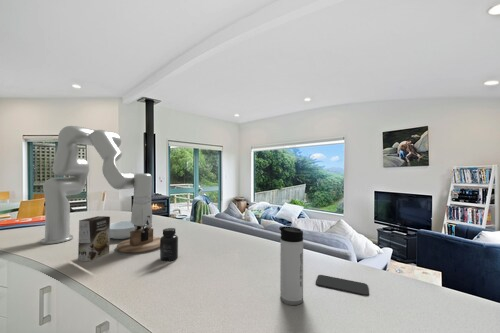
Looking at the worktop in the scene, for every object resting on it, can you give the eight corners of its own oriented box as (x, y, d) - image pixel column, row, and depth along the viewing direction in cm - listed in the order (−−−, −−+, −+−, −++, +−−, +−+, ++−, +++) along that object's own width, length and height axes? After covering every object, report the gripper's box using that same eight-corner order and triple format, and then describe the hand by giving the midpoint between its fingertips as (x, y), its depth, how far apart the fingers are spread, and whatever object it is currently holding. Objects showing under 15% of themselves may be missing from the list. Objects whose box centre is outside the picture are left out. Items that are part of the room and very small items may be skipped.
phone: (369, 295, 65) (314, 283, 71) (369, 298, 65) (314, 286, 71) (367, 283, 72) (318, 274, 78) (367, 286, 72) (318, 276, 78)
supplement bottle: (181, 257, 93) (181, 228, 93) (169, 264, 87) (169, 232, 87) (168, 255, 96) (169, 226, 96) (156, 260, 90) (156, 230, 90)
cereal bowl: (97, 240, 115) (97, 226, 115) (125, 232, 131) (126, 219, 131) (121, 244, 109) (121, 229, 109) (148, 235, 124) (148, 222, 124)
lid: (107, 246, 102) (108, 231, 103) (148, 236, 119) (149, 222, 119) (132, 256, 91) (132, 239, 91) (173, 243, 108) (173, 228, 108)
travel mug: (277, 293, 66) (277, 224, 67) (299, 292, 67) (299, 224, 67) (281, 306, 60) (282, 230, 60) (306, 305, 61) (306, 229, 61)
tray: (105, 249, 102) (105, 248, 102) (150, 237, 120) (150, 236, 120) (131, 260, 90) (131, 258, 90) (177, 245, 108) (177, 244, 108)
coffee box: (91, 263, 87) (91, 220, 88) (77, 261, 89) (78, 220, 89) (110, 254, 96) (110, 216, 97) (97, 253, 98) (97, 215, 98)
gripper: (124, 199, 107) (123, 238, 107) (145, 202, 98) (144, 245, 98) (140, 197, 113) (139, 234, 113) (160, 200, 104) (160, 241, 104)
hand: (141, 239), depth 105 cm, fingers closed on lid, 4 cm apart
